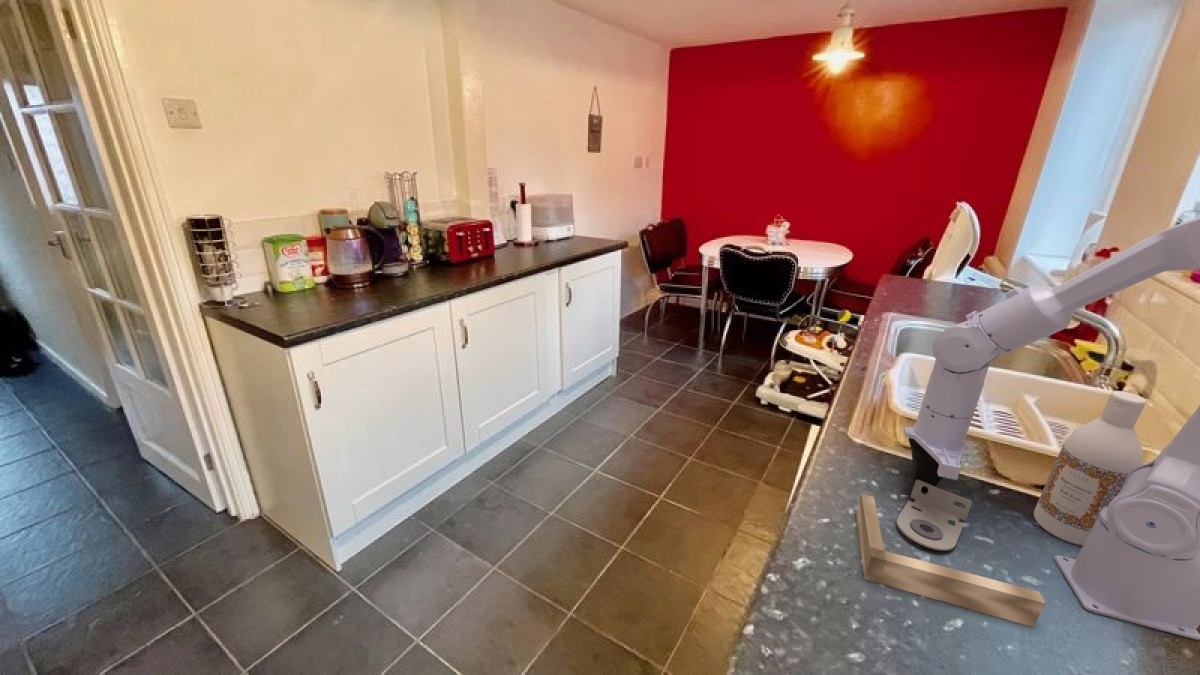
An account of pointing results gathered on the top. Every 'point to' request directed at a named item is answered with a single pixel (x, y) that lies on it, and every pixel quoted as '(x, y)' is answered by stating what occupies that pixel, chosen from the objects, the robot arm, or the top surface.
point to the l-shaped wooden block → (940, 577)
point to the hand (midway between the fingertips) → (920, 489)
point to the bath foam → (1091, 469)
